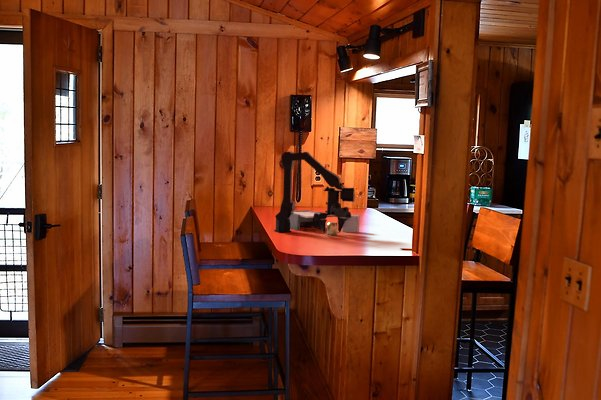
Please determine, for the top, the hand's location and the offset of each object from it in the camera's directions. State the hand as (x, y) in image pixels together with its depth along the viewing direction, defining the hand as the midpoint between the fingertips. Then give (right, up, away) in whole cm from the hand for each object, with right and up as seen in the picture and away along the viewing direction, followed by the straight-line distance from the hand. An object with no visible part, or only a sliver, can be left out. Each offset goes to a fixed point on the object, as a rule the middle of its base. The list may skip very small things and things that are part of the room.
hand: (331, 232), depth 324 cm
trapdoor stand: (-14, +1, +21) cm, 26 cm away
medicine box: (+10, -1, +12) cm, 16 cm away
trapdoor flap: (-12, +4, +17) cm, 21 cm away
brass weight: (0, -1, 0) cm, 1 cm away
